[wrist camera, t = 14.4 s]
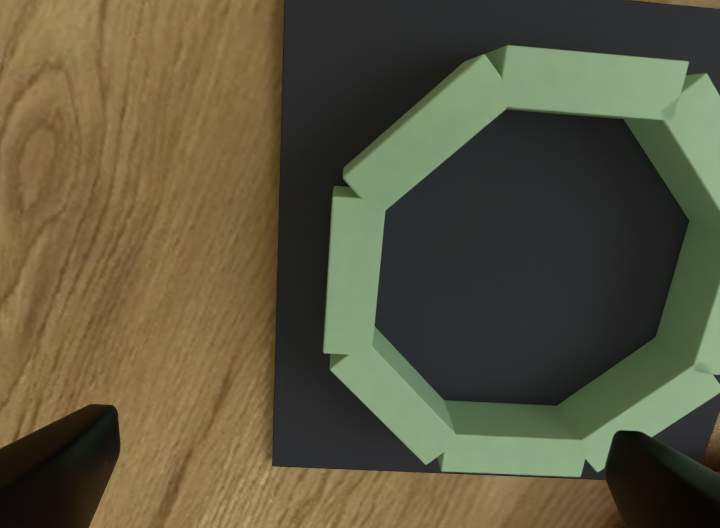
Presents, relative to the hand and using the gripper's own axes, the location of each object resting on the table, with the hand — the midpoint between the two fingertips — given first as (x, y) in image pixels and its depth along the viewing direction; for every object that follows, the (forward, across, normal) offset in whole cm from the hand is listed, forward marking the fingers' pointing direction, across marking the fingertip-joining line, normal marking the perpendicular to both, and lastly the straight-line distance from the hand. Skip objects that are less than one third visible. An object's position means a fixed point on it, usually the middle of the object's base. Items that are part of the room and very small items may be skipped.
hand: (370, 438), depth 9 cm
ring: (+11, -7, 0) cm, 13 cm away
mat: (+11, -7, 0) cm, 13 cm away
